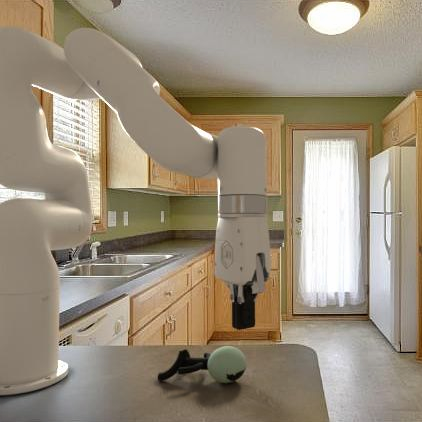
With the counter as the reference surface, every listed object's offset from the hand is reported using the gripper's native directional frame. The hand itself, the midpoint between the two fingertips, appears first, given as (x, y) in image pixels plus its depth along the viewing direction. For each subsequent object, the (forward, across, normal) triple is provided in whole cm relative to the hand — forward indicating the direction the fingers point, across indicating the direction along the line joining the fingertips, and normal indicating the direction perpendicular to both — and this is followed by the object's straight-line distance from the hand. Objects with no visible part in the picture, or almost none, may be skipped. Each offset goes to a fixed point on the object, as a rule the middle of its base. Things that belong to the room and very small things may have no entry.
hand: (243, 327), depth 59 cm
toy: (+12, -12, -1) cm, 17 cm away
